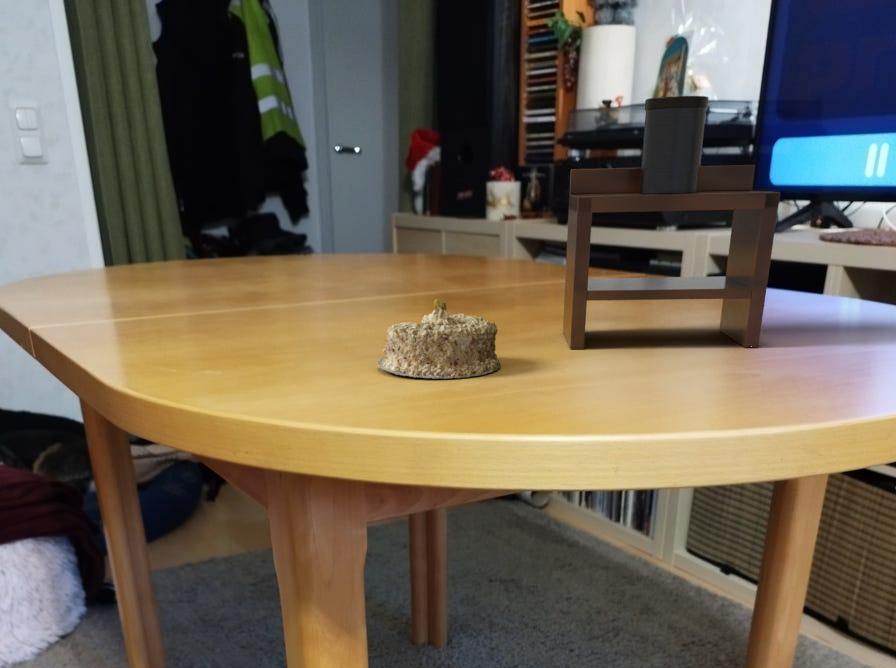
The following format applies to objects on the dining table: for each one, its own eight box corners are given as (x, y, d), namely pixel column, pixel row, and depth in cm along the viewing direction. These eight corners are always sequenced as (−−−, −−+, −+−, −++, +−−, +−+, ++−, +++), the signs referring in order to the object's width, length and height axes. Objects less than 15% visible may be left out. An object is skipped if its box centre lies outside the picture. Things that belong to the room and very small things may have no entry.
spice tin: (692, 192, 81) (701, 99, 77) (703, 193, 76) (714, 95, 73) (634, 193, 81) (641, 101, 78) (642, 194, 77) (650, 96, 73)
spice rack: (731, 330, 88) (752, 165, 82) (758, 347, 79) (784, 164, 73) (562, 331, 89) (570, 169, 83) (570, 349, 80) (579, 168, 74)
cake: (515, 366, 77) (523, 298, 74) (476, 392, 68) (483, 316, 66) (405, 350, 80) (408, 284, 77) (355, 373, 71) (357, 301, 69)
